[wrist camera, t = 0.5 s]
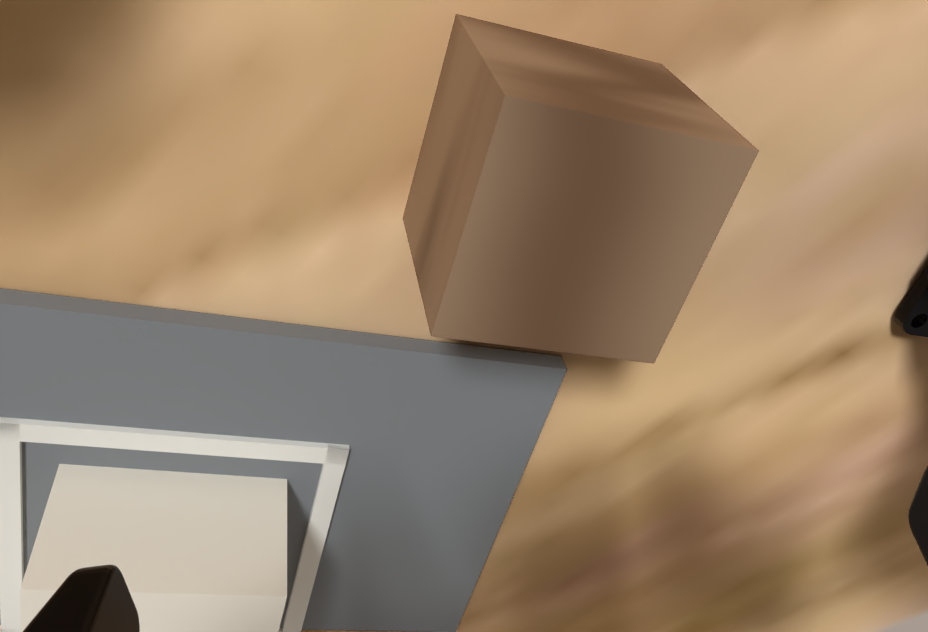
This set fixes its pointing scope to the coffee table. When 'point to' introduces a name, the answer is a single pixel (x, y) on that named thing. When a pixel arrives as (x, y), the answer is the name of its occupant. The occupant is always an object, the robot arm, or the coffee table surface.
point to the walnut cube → (565, 195)
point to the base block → (168, 545)
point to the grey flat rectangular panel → (280, 442)
